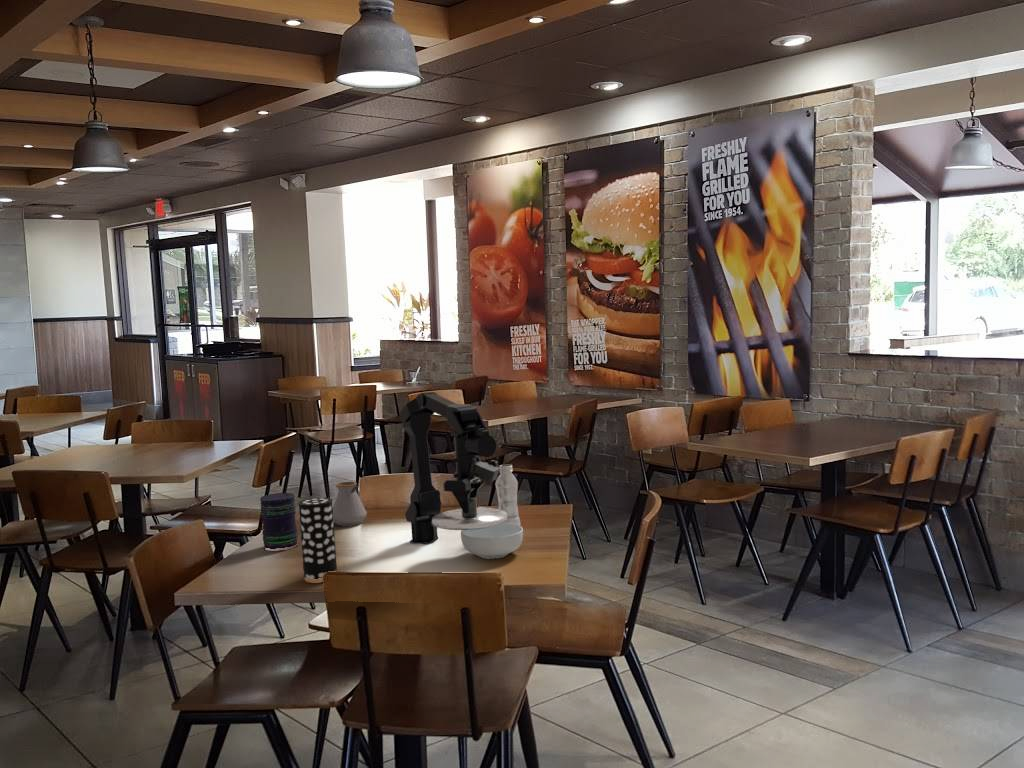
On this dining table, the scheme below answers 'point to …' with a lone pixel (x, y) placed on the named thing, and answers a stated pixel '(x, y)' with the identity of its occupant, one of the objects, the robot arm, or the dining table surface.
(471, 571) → the dining table surface
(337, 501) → the coffee pot
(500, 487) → the plastic bottle
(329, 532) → the white-spotted black cylinder
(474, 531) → the cereal bowl
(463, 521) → the steel lid
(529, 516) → the dining table surface
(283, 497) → the storage jar
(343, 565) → the dining table surface
